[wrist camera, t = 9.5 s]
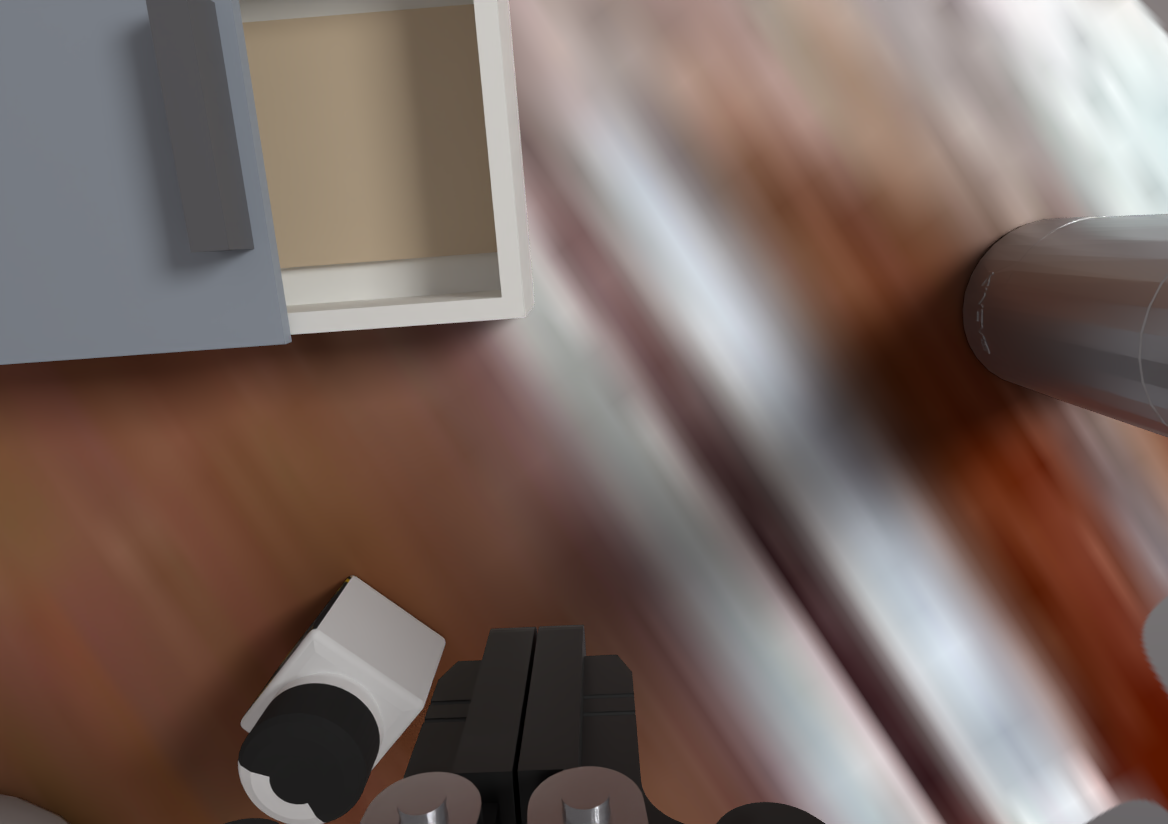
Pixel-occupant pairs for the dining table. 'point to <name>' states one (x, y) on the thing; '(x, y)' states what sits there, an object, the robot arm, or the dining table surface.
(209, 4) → the lid
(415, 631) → the medicine bottle
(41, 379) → the dining table surface
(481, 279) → the box
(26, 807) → the chamber pot
